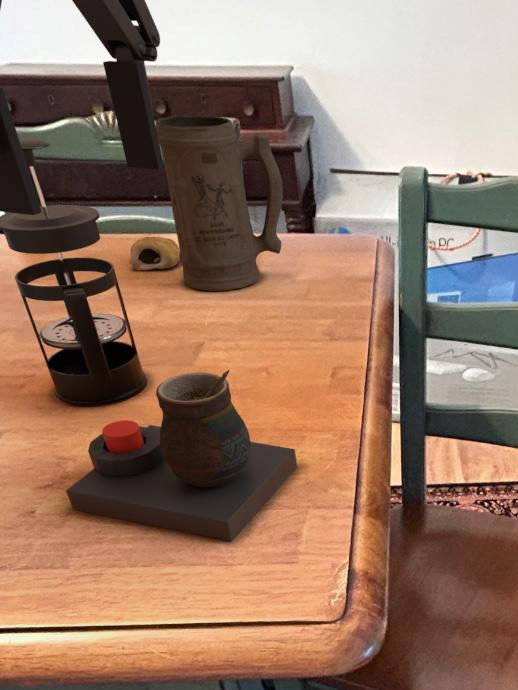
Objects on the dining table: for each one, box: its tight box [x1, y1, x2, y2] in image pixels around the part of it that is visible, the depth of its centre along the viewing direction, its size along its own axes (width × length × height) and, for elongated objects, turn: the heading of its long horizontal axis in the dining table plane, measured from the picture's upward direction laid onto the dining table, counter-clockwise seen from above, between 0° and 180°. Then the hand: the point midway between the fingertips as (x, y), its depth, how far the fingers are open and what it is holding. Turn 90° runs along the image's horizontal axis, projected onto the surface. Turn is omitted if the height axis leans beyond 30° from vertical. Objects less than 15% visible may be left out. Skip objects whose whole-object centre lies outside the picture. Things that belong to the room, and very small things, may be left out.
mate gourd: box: [155, 369, 251, 487], centre depth 59 cm, size 7×8×10 cm
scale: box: [65, 424, 298, 542], centre depth 64 cm, size 16×12×4 cm
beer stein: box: [155, 115, 284, 292], centre depth 101 cm, size 15×11×20 cm
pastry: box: [128, 236, 180, 271], centre depth 111 cm, size 9×7×4 cm
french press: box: [0, 137, 148, 407], centre depth 72 cm, size 12×9×23 cm
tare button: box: [101, 419, 144, 454], centre depth 63 cm, size 3×3×2 cm
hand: (89, 188), depth 51 cm, fingers open, 13 cm apart
